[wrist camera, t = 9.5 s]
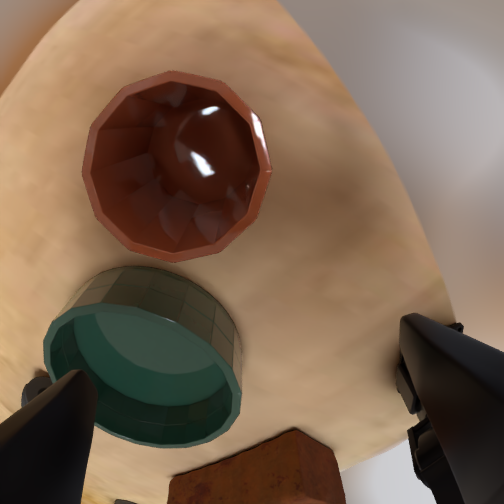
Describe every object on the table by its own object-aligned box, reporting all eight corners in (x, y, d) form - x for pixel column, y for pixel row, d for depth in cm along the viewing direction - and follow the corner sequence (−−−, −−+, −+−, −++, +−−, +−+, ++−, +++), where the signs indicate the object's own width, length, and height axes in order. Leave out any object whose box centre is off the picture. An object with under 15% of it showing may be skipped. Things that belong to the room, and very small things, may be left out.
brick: (159, 529, 24) (168, 475, 32) (213, 545, 27) (215, 496, 34) (303, 496, 20) (293, 423, 28) (350, 511, 22) (336, 450, 30)
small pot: (244, 82, 16) (244, 50, 9) (269, 192, 19) (286, 238, 11) (133, 114, 17) (65, 112, 9) (162, 218, 19) (117, 276, 12)
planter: (210, 245, 20) (201, 282, 15) (258, 395, 25) (261, 441, 21) (44, 285, 21) (11, 319, 16) (117, 408, 26) (104, 446, 22)
